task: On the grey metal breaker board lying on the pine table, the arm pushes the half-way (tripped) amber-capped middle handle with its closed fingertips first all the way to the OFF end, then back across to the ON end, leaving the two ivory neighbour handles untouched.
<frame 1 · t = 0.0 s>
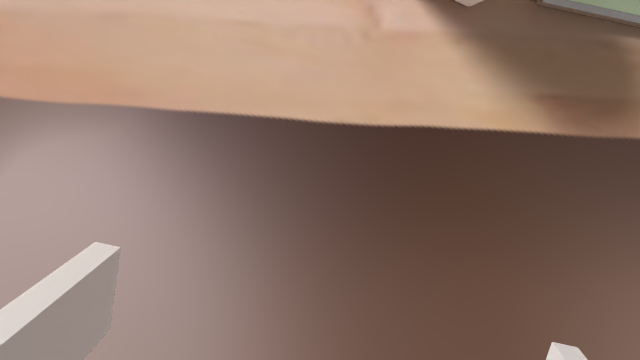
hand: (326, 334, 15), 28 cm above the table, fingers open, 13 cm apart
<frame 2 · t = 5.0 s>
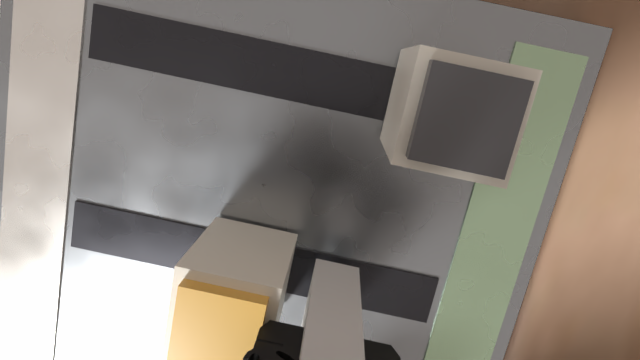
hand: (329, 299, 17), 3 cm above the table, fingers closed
breaker 2: (448, 111, 14), point 4 cm above the table, slide at 5.0 cm
panel: (259, 247, 20), on the table
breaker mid: (235, 293, 16), point 4 cm above the table, slide at -0.1 cm, touching gripper
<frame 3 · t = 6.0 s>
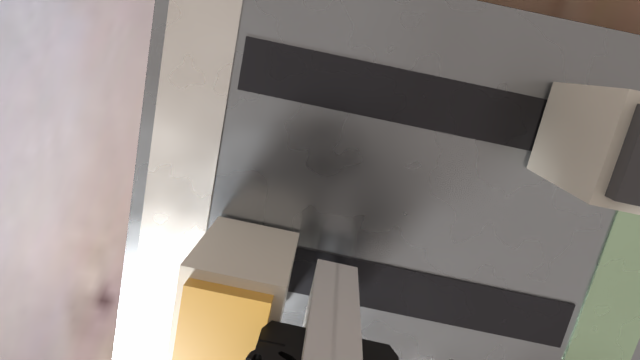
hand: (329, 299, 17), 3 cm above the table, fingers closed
breaker 2: (623, 147, 14), point 4 cm above the table, slide at 5.0 cm
panel: (385, 272, 20), on the table
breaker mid: (238, 292, 16), point 4 cm above the table, slide at -5.2 cm, touching gripper
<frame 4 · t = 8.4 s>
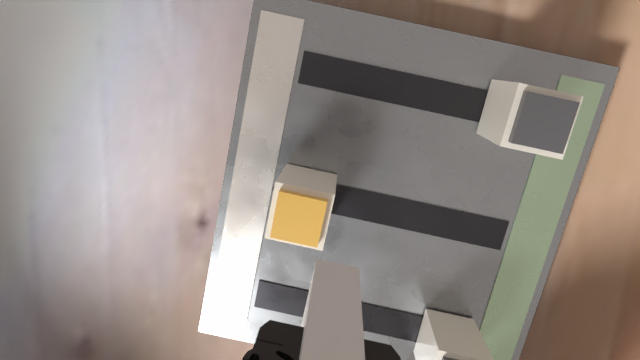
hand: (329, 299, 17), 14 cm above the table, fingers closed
breaker 2: (526, 117, 25), point 4 cm above the table, slide at 5.0 cm
panel: (388, 203, 31), on the table
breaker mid: (302, 205, 27), point 4 cm above the table, slide at -5.0 cm
breaker 1: (451, 358, 28), point 4 cm above the table, slide at 5.0 cm
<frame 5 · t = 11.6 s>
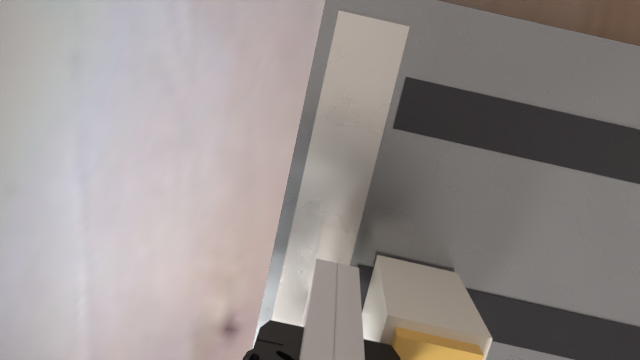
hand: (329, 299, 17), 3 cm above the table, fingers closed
panel: (515, 306, 20), on the table
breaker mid: (416, 335, 16), point 4 cm above the table, slide at -4.7 cm, touching gripper
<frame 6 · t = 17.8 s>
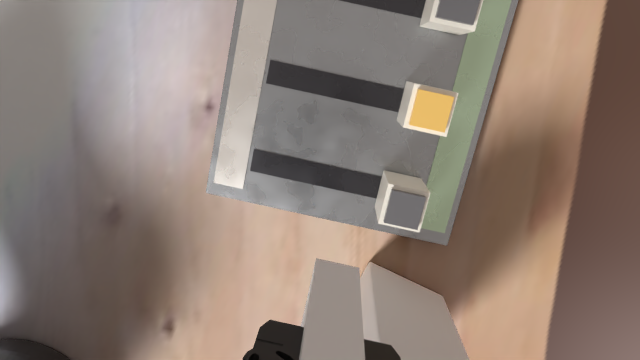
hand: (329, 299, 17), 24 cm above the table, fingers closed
breaker 2: (451, 5, 34), point 4 cm above the table, slide at 5.0 cm
panel: (355, 89, 39), on the table
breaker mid: (425, 107, 35), point 4 cm above the table, slide at 5.0 cm
breaker 1: (401, 200, 37), point 4 cm above the table, slide at 5.0 cm
milk carton: (387, 309, 44), on the table
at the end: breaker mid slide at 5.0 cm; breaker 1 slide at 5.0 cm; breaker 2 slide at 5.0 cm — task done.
